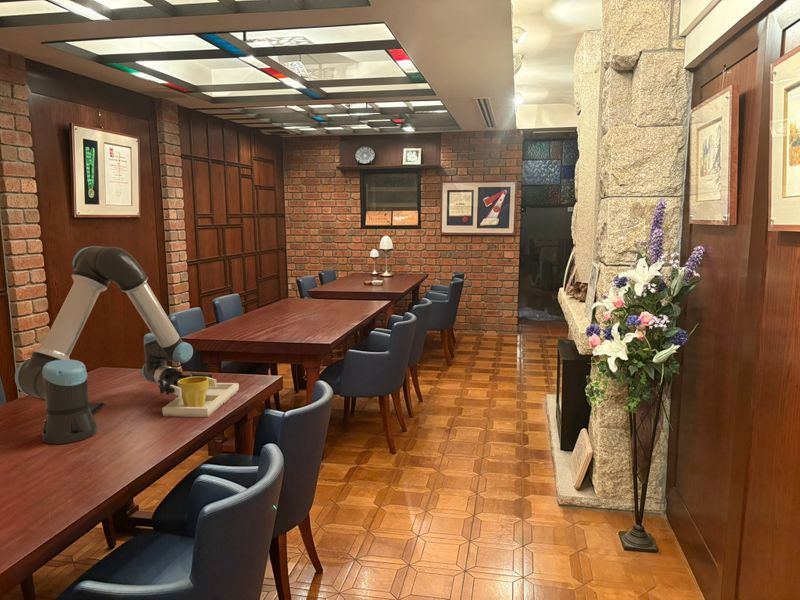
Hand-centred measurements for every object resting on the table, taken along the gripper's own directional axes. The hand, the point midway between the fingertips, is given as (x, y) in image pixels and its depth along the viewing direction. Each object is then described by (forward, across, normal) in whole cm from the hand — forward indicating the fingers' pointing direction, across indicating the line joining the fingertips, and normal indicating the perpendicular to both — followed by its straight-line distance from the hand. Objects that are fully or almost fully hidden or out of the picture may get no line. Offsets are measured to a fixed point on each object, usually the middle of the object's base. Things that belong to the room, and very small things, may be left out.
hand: (198, 387), depth 202 cm
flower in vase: (-60, +26, -9) cm, 66 cm away
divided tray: (-8, -6, -8) cm, 13 cm away
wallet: (-32, +30, -9) cm, 45 cm away
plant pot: (-3, 0, -8) cm, 8 cm away
